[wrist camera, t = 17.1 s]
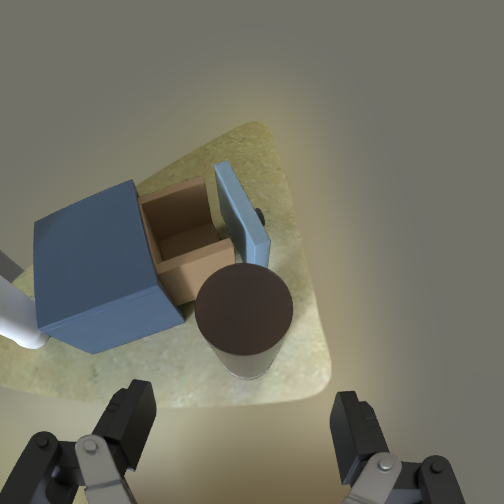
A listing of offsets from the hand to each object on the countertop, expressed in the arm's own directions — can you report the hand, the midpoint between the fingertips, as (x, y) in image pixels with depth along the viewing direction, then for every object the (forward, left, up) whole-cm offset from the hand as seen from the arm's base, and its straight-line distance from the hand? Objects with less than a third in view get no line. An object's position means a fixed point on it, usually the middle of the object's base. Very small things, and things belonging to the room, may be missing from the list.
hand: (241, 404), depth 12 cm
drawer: (-4, +12, -10) cm, 17 cm away
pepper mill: (0, +4, -11) cm, 12 cm away
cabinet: (-12, +9, -11) cm, 19 cm away
